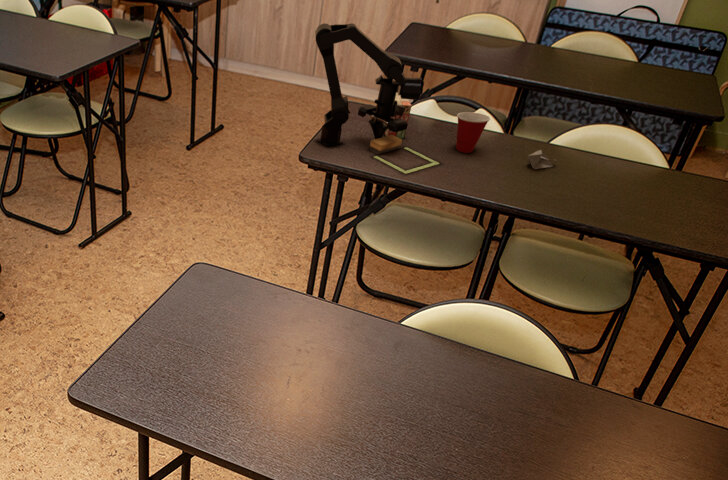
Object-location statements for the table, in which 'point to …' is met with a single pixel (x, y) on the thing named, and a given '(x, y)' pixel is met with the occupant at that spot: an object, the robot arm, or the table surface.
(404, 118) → the tan printed boxy piece
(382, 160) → the tape box
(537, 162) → the paper boat
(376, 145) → the chalkboard eraser
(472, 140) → the plastic cup
